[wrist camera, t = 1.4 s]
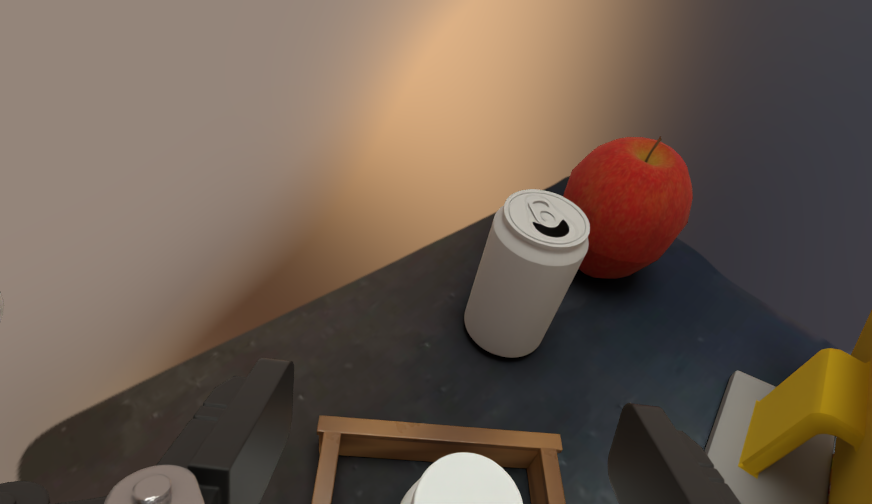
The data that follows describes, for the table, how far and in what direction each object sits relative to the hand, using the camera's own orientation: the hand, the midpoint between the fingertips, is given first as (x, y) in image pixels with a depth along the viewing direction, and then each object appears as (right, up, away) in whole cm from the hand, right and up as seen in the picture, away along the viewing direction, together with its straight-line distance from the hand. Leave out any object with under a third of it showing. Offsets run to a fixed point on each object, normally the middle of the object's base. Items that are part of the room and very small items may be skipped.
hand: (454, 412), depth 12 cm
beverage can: (+5, -2, +28) cm, 28 cm away
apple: (+14, +3, +36) cm, 38 cm away
